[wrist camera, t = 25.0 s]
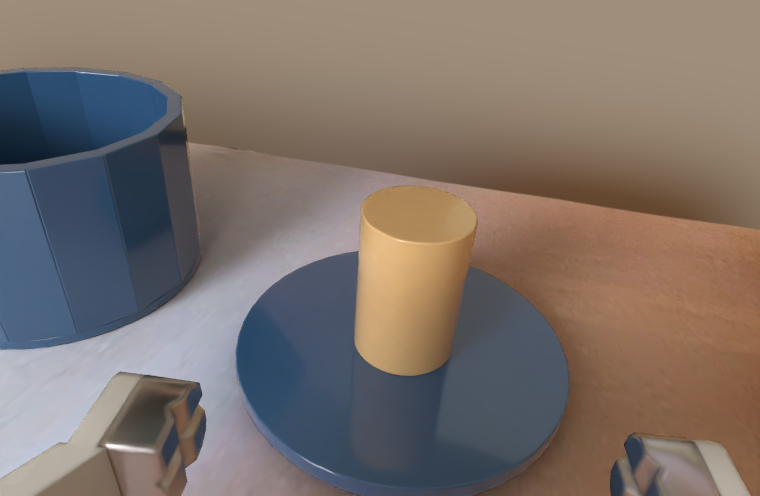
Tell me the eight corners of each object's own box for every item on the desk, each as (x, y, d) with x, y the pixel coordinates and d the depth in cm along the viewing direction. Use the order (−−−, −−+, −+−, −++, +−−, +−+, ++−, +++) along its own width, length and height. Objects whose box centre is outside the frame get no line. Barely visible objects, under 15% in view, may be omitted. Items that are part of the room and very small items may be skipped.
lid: (257, 562, 17) (238, 389, 13) (227, 287, 28) (211, 145, 24) (634, 463, 21) (719, 306, 17) (475, 257, 32) (500, 131, 28)
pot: (-138, 373, 22) (-259, 186, 17) (-35, 211, 33) (-93, 69, 28) (205, 325, 26) (182, 161, 21) (198, 194, 36) (181, 66, 32)
